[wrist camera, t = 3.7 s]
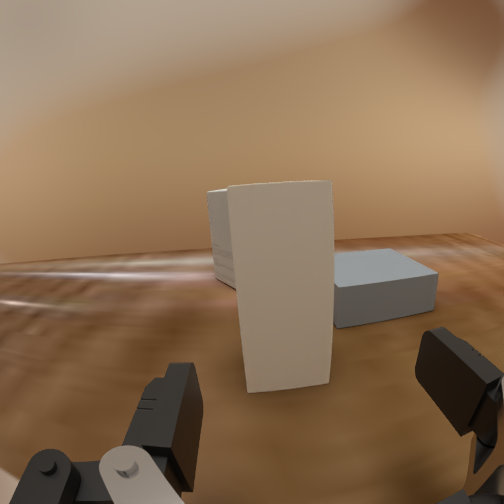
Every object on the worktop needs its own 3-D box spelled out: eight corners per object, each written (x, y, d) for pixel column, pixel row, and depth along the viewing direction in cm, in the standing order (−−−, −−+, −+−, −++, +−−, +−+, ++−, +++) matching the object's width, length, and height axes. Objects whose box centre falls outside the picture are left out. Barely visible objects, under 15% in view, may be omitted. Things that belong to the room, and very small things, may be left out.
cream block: (247, 393, 17) (226, 186, 14) (245, 350, 23) (230, 185, 20) (328, 383, 18) (331, 180, 14) (311, 342, 23) (308, 180, 20)
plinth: (337, 328, 25) (338, 287, 24) (310, 287, 35) (309, 255, 34) (433, 310, 25) (438, 273, 24) (388, 277, 36) (389, 248, 35)
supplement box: (286, 278, 39) (280, 184, 36) (237, 292, 36) (228, 188, 33) (257, 267, 45) (251, 186, 42) (214, 278, 42) (204, 190, 39)
